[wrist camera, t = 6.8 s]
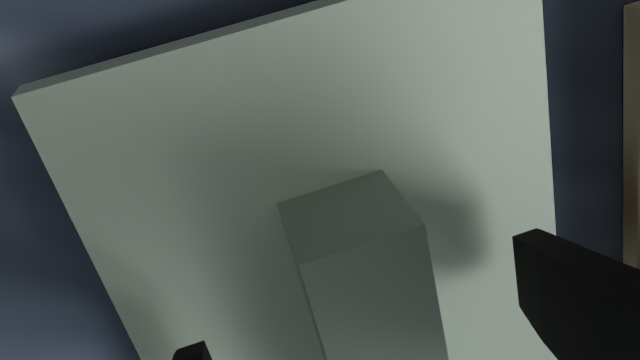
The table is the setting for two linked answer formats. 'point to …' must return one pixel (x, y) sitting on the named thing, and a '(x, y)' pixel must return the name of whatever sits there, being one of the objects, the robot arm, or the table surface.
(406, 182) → the lid
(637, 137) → the crate
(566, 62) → the table surface
